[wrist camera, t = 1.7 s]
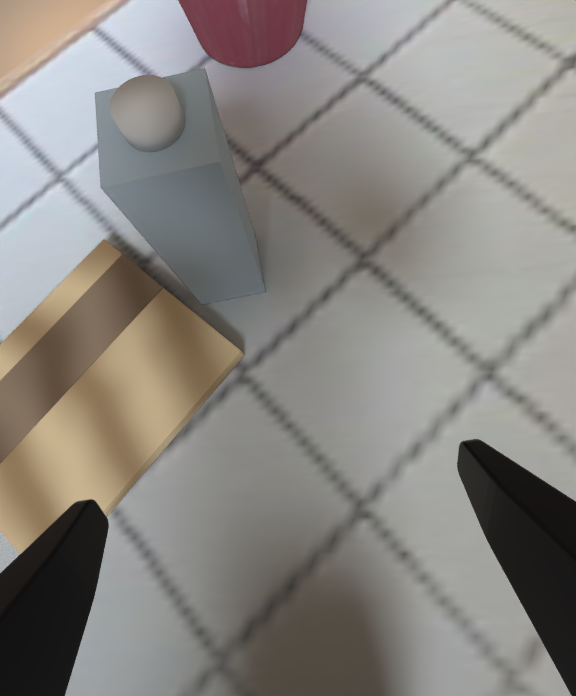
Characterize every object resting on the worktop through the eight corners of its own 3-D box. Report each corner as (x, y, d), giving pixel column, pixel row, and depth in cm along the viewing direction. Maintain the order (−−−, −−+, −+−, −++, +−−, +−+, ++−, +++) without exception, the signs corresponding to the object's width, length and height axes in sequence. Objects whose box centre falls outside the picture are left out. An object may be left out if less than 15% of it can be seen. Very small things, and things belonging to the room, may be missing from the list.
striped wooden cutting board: (58, 573, 21) (42, 582, 20) (-65, 430, 24) (-86, 430, 23) (244, 355, 24) (240, 350, 22) (113, 247, 26) (103, 238, 25)
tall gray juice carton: (265, 291, 25) (212, 139, 12) (201, 304, 25) (83, 167, 12) (255, 234, 26) (196, 41, 13) (194, 247, 26) (78, 67, 13)
